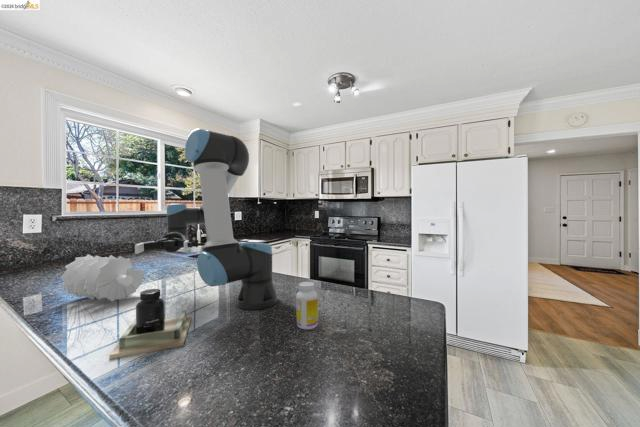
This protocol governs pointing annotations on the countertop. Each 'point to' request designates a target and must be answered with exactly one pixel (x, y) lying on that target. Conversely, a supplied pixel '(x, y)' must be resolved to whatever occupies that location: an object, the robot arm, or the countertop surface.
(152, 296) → the supplement bottle
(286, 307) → the countertop surface
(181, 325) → the beige tray
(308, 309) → the supplement bottle
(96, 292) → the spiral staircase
